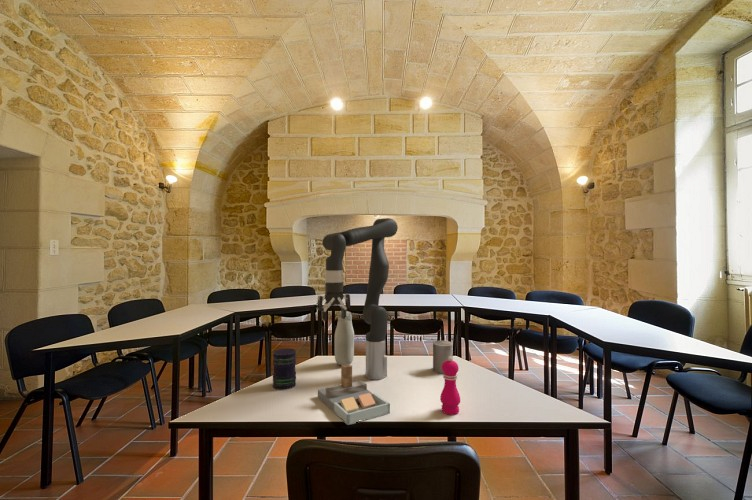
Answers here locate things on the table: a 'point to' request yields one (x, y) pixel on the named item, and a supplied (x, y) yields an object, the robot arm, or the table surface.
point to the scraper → (346, 384)
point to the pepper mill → (450, 388)
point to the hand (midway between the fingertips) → (334, 319)
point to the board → (337, 400)
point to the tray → (363, 411)
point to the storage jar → (284, 369)
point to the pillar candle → (441, 354)
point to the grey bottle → (344, 340)
